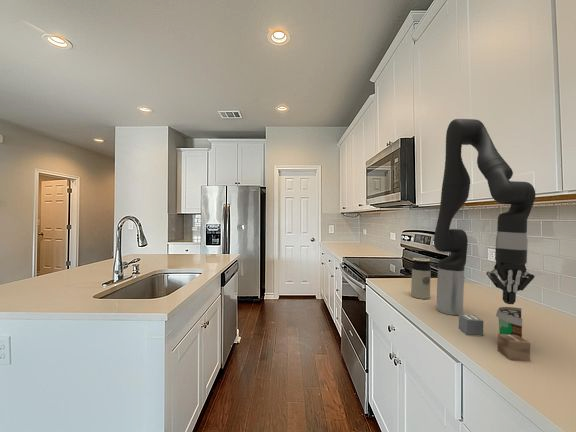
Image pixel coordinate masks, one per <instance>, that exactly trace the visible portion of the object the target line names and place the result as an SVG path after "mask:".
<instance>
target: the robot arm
mask: <svg viewBox="0 0 576 432" xmlns="http://www.w3.org/2000/svg"><path fill="white" fill-rule="evenodd" d="M464 145H465V146H469V145H470V146H472V147H473V148H474V149H475V150H476V151H477V158H476V164H477V168H478V169H479V171H480V173H481V174H482V175H483V177H484V178H485V180H486V181H487V185H488V188H489V192H490V195H491V197H492V199H493V201H495V202H496V203H498V204H501V205H510V207H509V209H508V211H506V212H502V213H499V215H498V216H497V224H496V225H497V228H496V230H497V231H496V236H495V254H494V260H495V264H494V266H493V268H494V269H492V270H491V271H486V275H487V277H488V279H490V281H491V282H492V283H493V285H494V286H495V288H497V289H500V290H501V291H502V301H503V302H504V304H507V305H514V304H515V303H516V299H517V292H520V291H523V290H525V289H526V288H527V286H528V285H529V284H530V283H531V282H532V281H533V280H534V279H535V277H536V276H535V275H534V274H531V273H530V272H529V271H527V270H528V269H527V267H526V264H527V263H528V262H527V261H528V260H527V259H528V218H529V217H530V214H531V211H532V208H533V206H534V203H535V199H536V190H535V189H536V188H535V187H534V186H533V184H531V183H530V182H528V181H520V180H519V181H515V180H511V179H512V177H513V176H514V171H513V169H512V168H511V166H510V165H509V164H508V163H507V161H505V159H504V157H502V155H501V154H500V153H499V151H498V150H497V148H496V146H495V144H494V142H493V140H492V138H491V136H490V135H489V132H488V130H487V127H486V126H485V125H484V123H483V122H482V121H481V120H479V119H473V118H472V119H471V118H455V119H452V120H451V122H449V124H448V125H447V129H446V134H445V158H444V159H445V162H444V172H443V178H442V185H441V191H440V192H441V194H440V203H439V205H440V206H439V212H438V217H437V221H436V227H435V231H434V237H433V245H434V248H435V250H436V251H437V252H442V253H443V252H444V253H450V254H449V256H447V257H445V258H442V259H440V260H438V262H437V284H436V310H437V311H438V312H439V313H443V314H446V315H450V316H451V315H452V316H459V314H460V315H464V295H465V294H464V293H465V291H464V289H465V284H464V283H465V267H466V263H467V254H468V245H469V244H468V241H469V239H468V235H467V233H466V231H465V230H462V229H459V228H458V229H457V228H455V229H454V228H451V224H452V221H453V219H454V217H455V215H457V213H458V212H459V210H460V209H461V208H462V207H463V206H464V204H465V203H466V202H467V200H468V198H469V195H470V188H471V177H470V175H469V174H470V173H468V170H467V168H466V166H465V163H464V162H463V161H464V160H463V157H462V148H463V147H462V146H464Z"/></svg>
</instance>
